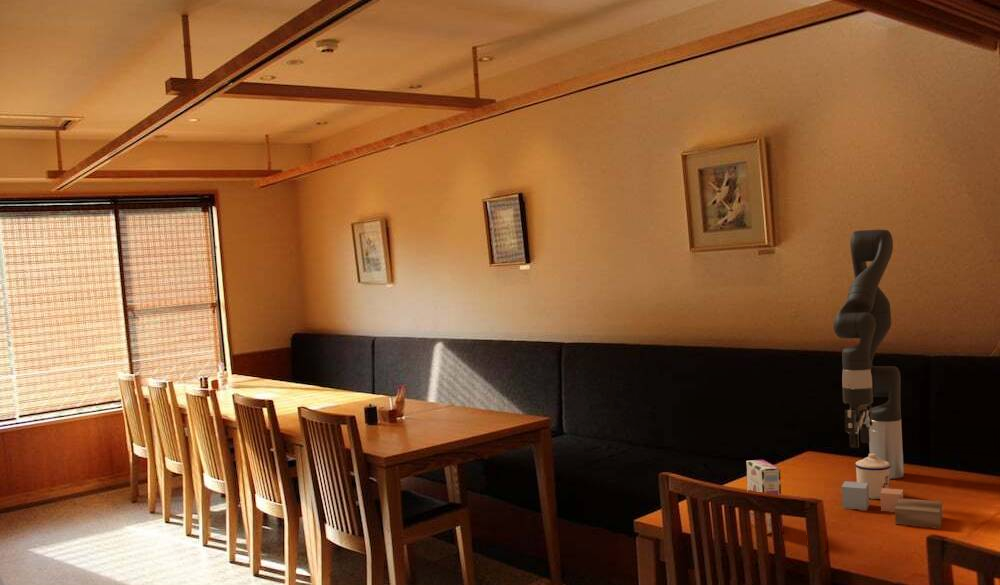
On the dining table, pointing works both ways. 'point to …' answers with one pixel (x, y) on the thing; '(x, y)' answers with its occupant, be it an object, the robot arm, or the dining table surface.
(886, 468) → the teacup with lid
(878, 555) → the dining table surface
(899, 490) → the terracotta block
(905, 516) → the walnut plinth
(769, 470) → the candy bar box
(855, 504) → the slate block
